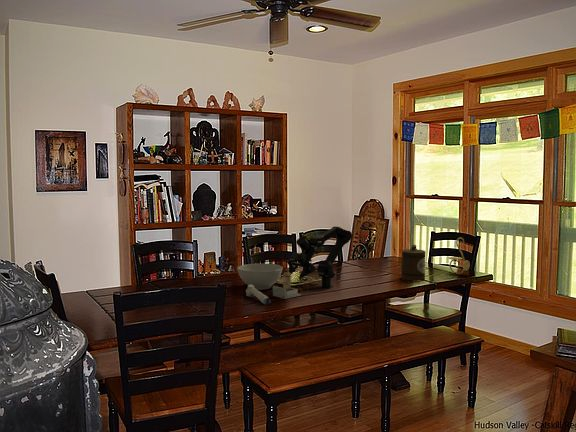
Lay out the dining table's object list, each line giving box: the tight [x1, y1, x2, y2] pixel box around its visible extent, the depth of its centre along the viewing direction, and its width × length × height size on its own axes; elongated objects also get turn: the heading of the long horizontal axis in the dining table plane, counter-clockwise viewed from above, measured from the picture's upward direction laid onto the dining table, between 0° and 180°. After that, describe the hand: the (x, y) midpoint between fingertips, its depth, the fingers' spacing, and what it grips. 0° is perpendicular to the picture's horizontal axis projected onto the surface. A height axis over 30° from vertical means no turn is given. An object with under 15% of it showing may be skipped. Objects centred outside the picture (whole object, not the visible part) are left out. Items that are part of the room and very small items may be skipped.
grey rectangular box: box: [272, 285, 302, 300], centre depth 281 cm, size 12×10×6 cm
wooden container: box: [401, 244, 427, 281], centre depth 326 cm, size 15×15×22 cm
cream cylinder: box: [282, 271, 292, 291], centre depth 280 cm, size 4×4×12 cm
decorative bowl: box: [237, 263, 284, 291], centre depth 301 cm, size 27×27×12 cm
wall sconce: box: [447, 237, 471, 275], centre depth 340 cm, size 14×10×25 cm
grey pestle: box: [245, 285, 271, 306], centre depth 272 cm, size 5×7×25 cm
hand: (293, 277), depth 283 cm, fingers open, 9 cm apart
